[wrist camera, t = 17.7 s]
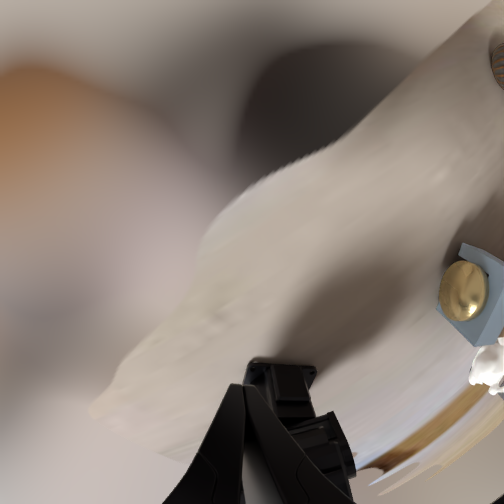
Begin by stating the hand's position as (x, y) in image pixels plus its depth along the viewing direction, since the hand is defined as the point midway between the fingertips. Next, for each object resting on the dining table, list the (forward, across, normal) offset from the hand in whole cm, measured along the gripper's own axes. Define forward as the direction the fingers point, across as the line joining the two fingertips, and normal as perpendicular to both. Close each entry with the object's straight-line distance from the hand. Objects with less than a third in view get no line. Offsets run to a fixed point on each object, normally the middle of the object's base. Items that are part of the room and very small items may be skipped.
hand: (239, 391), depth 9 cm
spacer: (+11, -22, -2) cm, 25 cm away
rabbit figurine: (+12, -39, +8) cm, 42 cm away
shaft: (+10, -28, -2) cm, 30 cm away
